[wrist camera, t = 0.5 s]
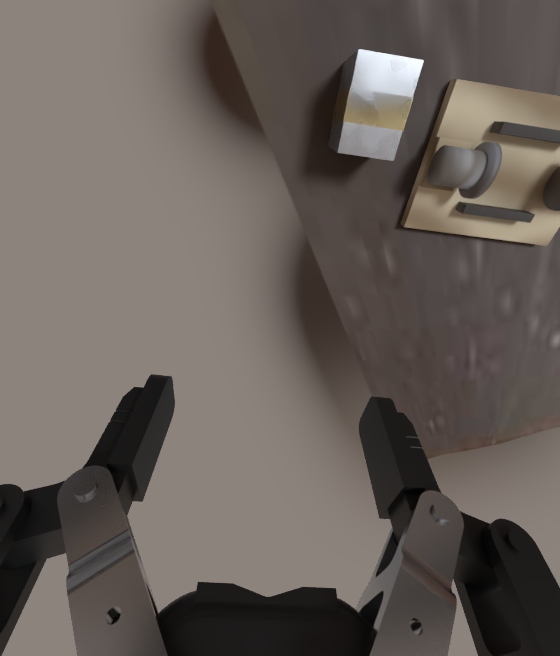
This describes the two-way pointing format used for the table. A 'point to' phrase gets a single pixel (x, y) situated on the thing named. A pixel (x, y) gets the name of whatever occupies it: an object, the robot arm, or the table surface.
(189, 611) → the robot arm
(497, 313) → the table surface
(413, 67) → the block
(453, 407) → the table surface
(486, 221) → the beige flat board
